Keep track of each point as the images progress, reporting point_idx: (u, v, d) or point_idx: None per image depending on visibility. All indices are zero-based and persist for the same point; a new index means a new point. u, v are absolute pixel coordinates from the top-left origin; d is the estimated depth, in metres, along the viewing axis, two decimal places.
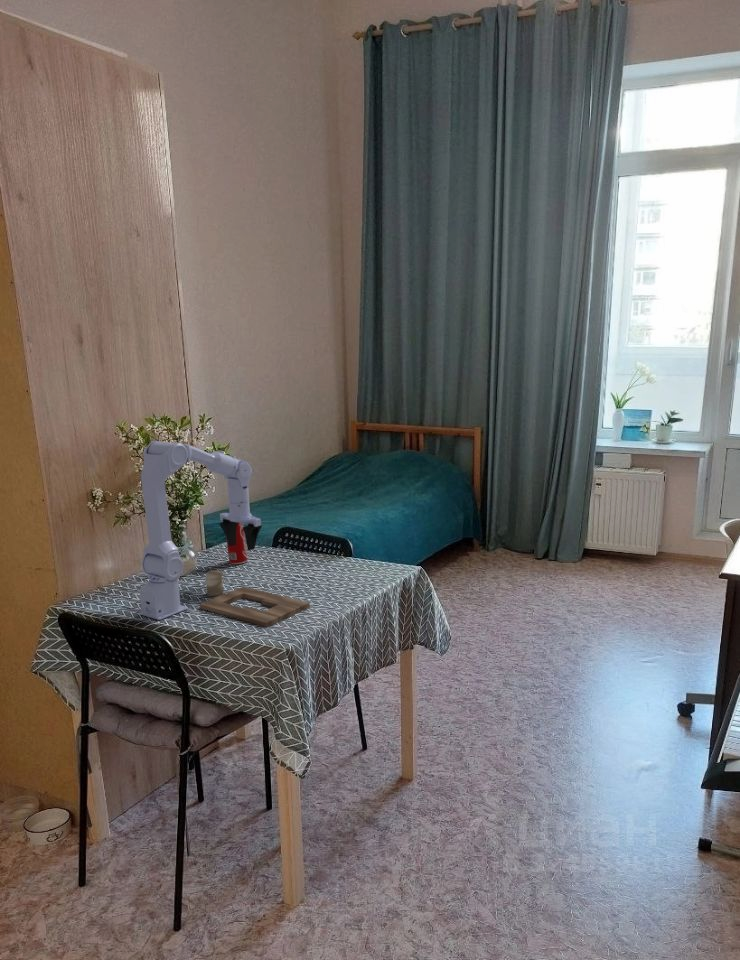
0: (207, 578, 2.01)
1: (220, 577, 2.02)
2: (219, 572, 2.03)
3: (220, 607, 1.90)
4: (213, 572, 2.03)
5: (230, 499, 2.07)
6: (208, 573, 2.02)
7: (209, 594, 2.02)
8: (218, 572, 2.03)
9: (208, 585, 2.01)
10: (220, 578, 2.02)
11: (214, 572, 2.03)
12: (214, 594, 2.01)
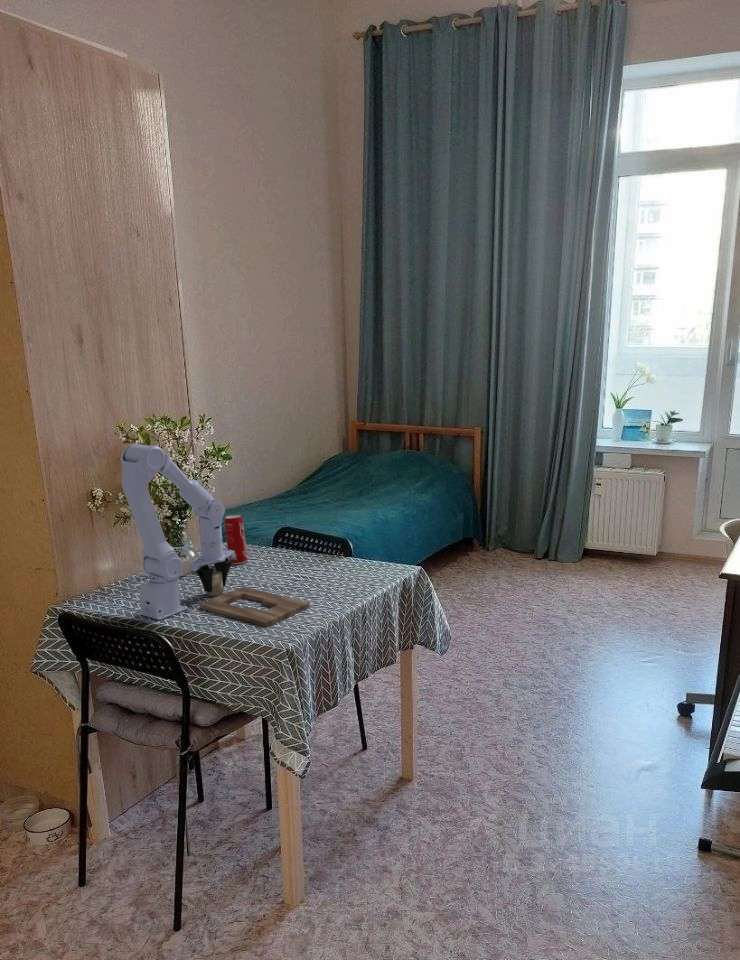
0: None
1: (220, 577, 2.02)
2: (219, 572, 2.03)
3: (220, 607, 1.90)
4: (213, 572, 2.03)
5: (202, 539, 1.99)
6: None
7: (209, 594, 2.02)
8: (218, 572, 2.03)
9: None
10: (220, 578, 2.02)
11: (214, 572, 2.03)
12: (214, 594, 2.01)
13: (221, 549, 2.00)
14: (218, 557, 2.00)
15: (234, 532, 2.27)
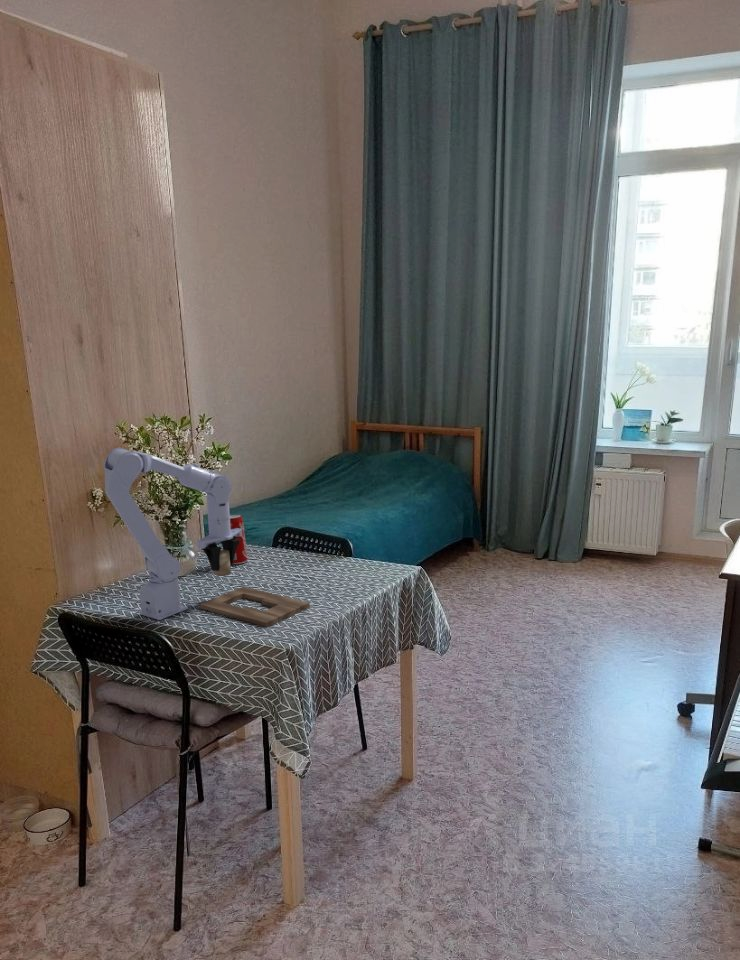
0: None
1: (227, 556, 1.98)
2: (226, 551, 1.99)
3: (220, 607, 1.90)
4: (220, 551, 1.99)
5: (208, 516, 1.95)
6: None
7: (216, 573, 1.98)
8: (225, 551, 1.99)
9: None
10: (227, 557, 1.98)
11: (221, 551, 1.99)
12: (221, 573, 1.97)
13: (229, 527, 1.96)
14: (226, 535, 1.95)
15: None
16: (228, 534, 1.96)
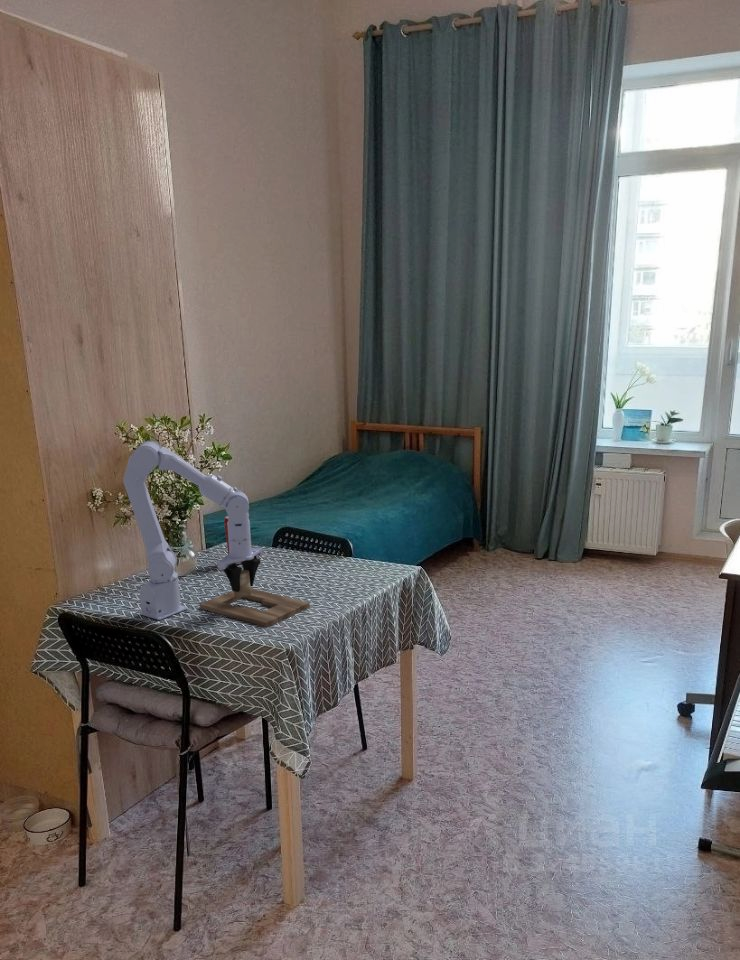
0: None
1: (247, 577, 1.92)
2: (246, 571, 1.94)
3: (220, 607, 1.90)
4: None
5: None
6: None
7: (236, 594, 1.92)
8: (245, 571, 1.94)
9: None
10: (247, 577, 1.92)
11: None
12: (241, 594, 1.92)
13: (249, 546, 1.91)
14: (246, 555, 1.90)
15: None
16: (249, 554, 1.91)
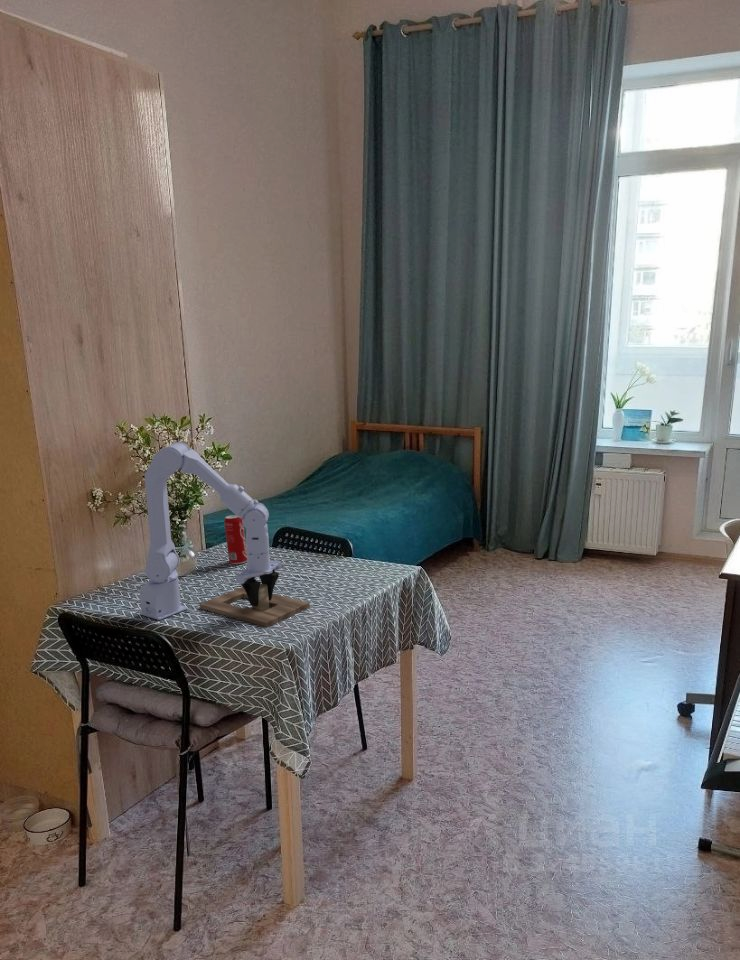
0: None
1: (265, 591, 1.89)
2: (264, 585, 1.90)
3: (220, 607, 1.90)
4: None
5: None
6: None
7: None
8: (263, 585, 1.90)
9: None
10: (266, 592, 1.89)
11: None
12: (260, 609, 1.89)
13: (268, 560, 1.88)
14: (265, 569, 1.87)
15: (234, 532, 2.27)
16: (267, 568, 1.87)
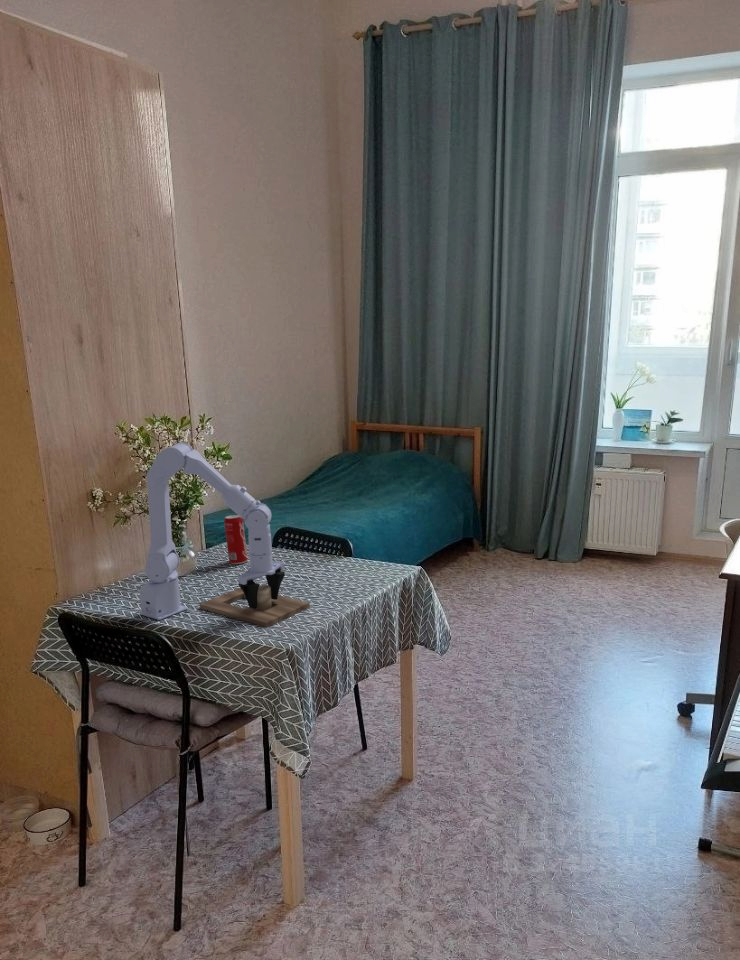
0: None
1: (268, 593, 1.89)
2: (267, 587, 1.90)
3: (220, 607, 1.90)
4: (261, 587, 1.90)
5: None
6: None
7: None
8: (266, 587, 1.90)
9: None
10: (269, 594, 1.89)
11: (262, 587, 1.90)
12: None
13: (271, 561, 1.87)
14: (268, 569, 1.86)
15: (234, 532, 2.27)
16: (270, 569, 1.87)
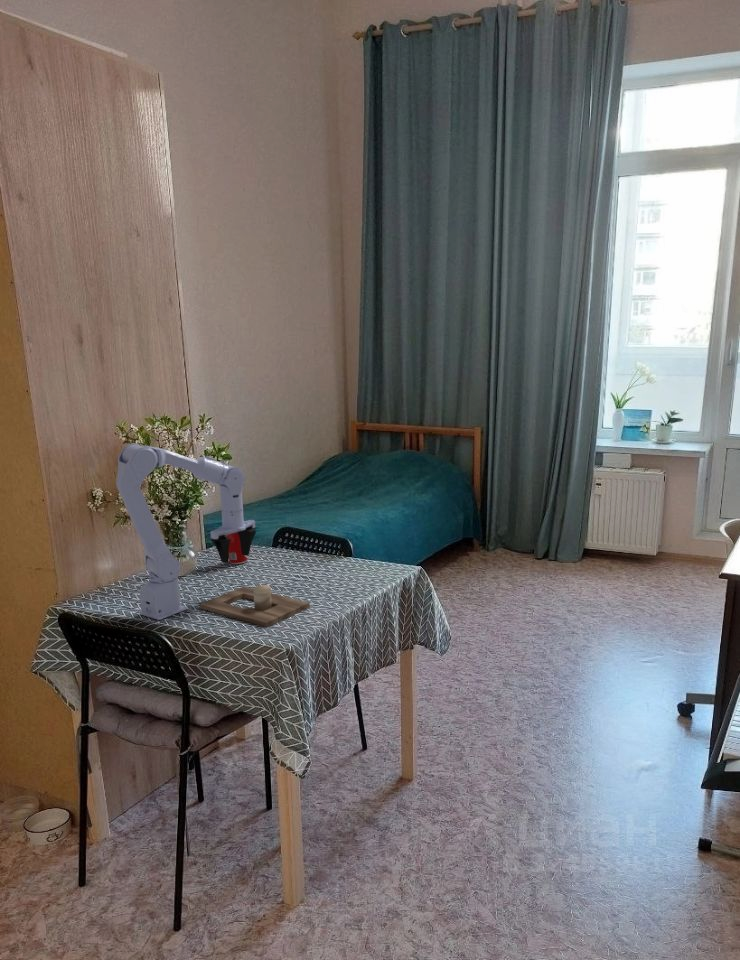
0: (255, 593, 1.88)
1: (268, 593, 1.89)
2: (267, 587, 1.90)
3: (220, 607, 1.90)
4: (261, 587, 1.90)
5: (221, 507, 1.97)
6: (256, 588, 1.89)
7: None
8: (266, 587, 1.90)
9: (256, 601, 1.88)
10: (269, 594, 1.89)
11: (262, 587, 1.90)
12: None
13: (242, 518, 1.98)
14: (239, 526, 1.97)
15: None
16: (241, 525, 1.98)
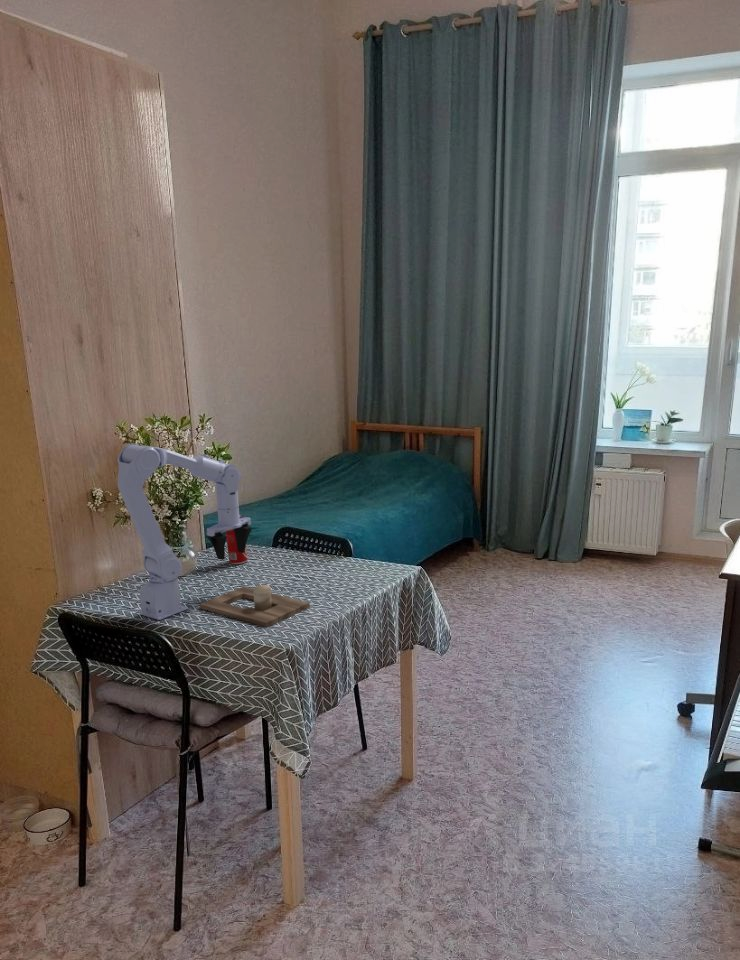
0: (255, 593, 1.88)
1: (268, 593, 1.89)
2: (267, 587, 1.90)
3: (220, 607, 1.90)
4: (261, 587, 1.90)
5: (218, 505, 1.99)
6: (256, 588, 1.89)
7: None
8: (266, 587, 1.90)
9: (256, 601, 1.88)
10: (269, 594, 1.89)
11: (262, 587, 1.90)
12: None
13: (238, 515, 2.00)
14: (235, 523, 1.99)
15: None
16: (237, 522, 2.00)
